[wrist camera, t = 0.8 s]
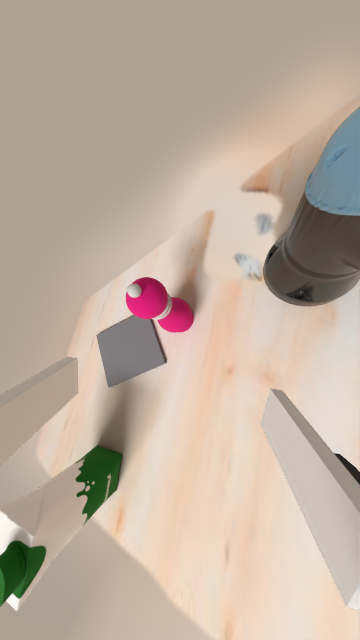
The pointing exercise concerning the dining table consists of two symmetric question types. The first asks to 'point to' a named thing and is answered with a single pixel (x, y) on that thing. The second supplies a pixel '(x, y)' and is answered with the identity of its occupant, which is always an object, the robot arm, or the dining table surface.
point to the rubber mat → (129, 349)
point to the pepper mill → (158, 305)
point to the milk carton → (51, 520)
